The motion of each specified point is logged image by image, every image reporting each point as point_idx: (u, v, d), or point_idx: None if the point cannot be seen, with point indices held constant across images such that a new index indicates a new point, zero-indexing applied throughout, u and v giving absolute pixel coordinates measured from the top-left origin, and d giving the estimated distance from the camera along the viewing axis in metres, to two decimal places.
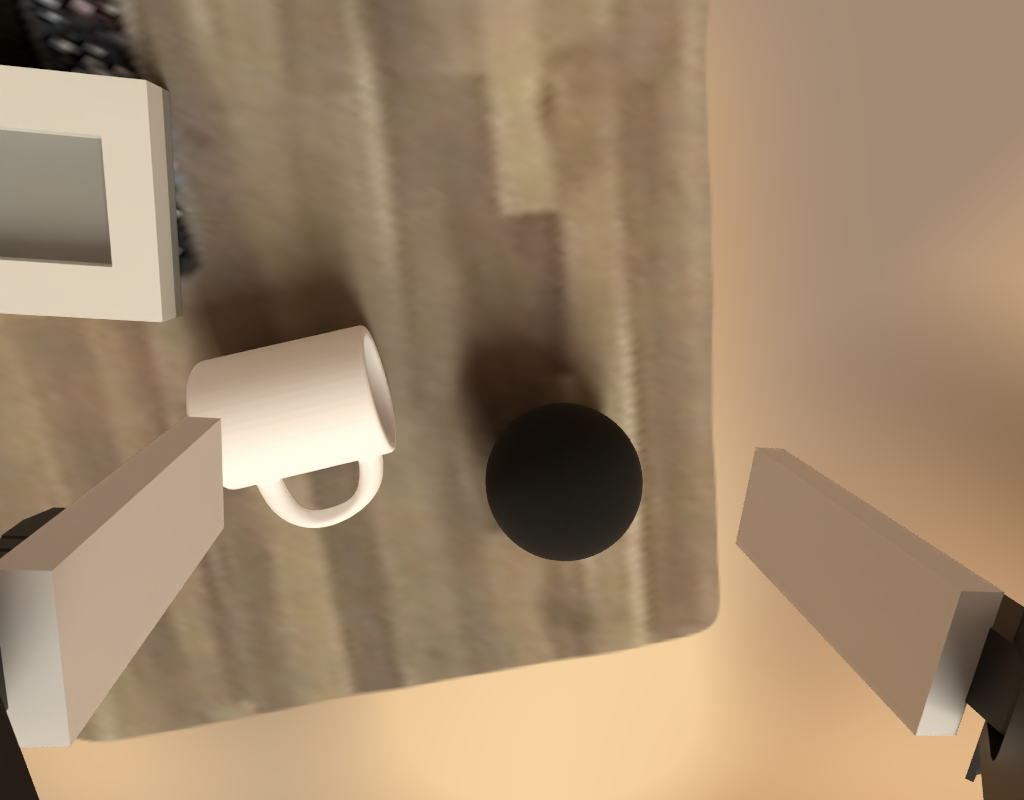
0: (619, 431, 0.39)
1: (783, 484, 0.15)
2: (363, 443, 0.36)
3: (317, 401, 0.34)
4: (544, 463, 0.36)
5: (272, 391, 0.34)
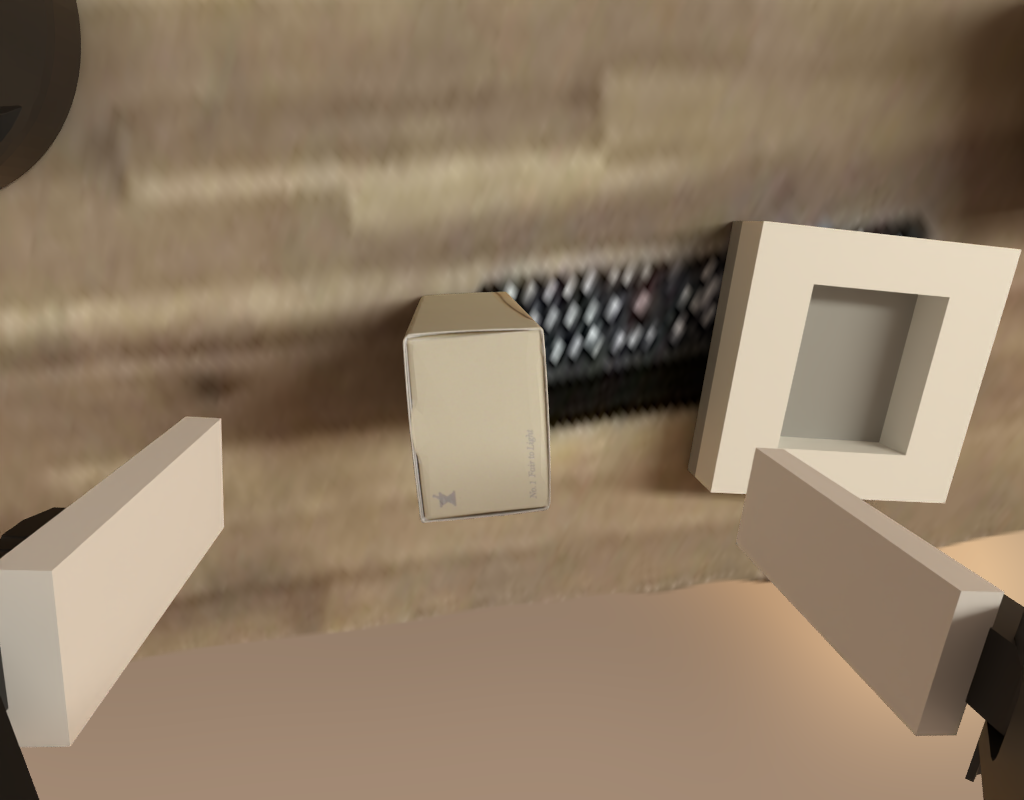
0: None
1: (784, 484, 0.15)
2: None
3: None
4: None
5: None
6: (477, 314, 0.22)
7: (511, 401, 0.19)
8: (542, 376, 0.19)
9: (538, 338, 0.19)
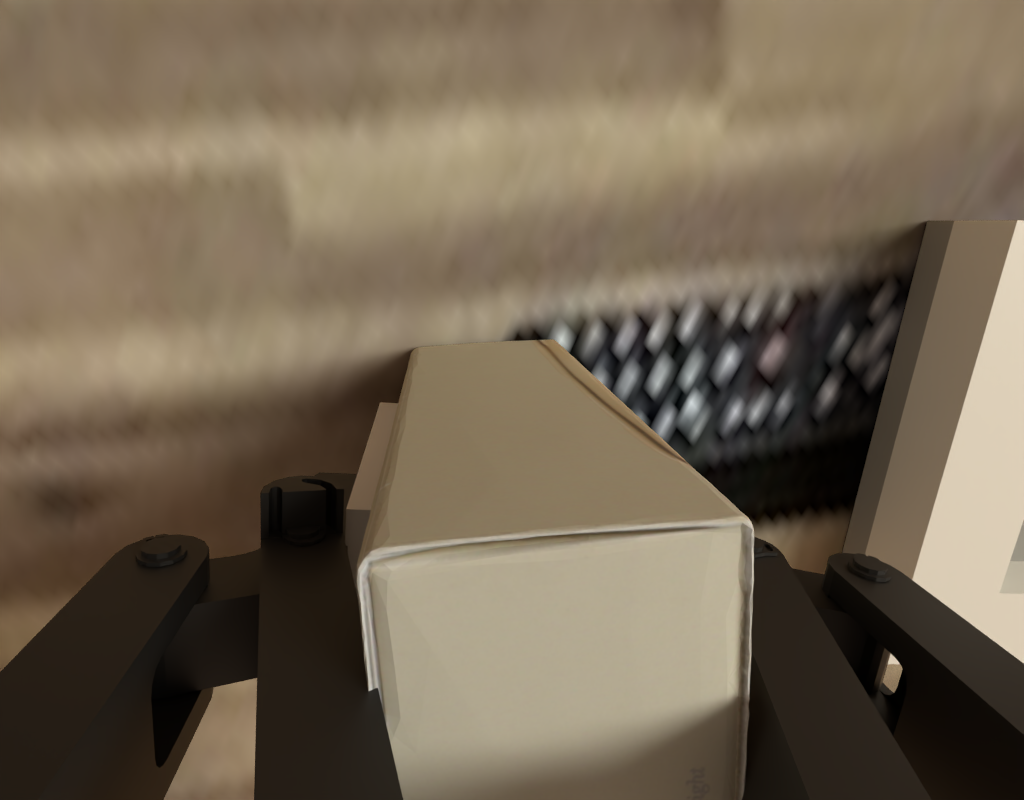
0: None
1: None
2: None
3: None
4: None
5: None
6: (537, 428, 0.10)
7: (654, 708, 0.07)
8: (737, 639, 0.07)
9: (738, 546, 0.07)
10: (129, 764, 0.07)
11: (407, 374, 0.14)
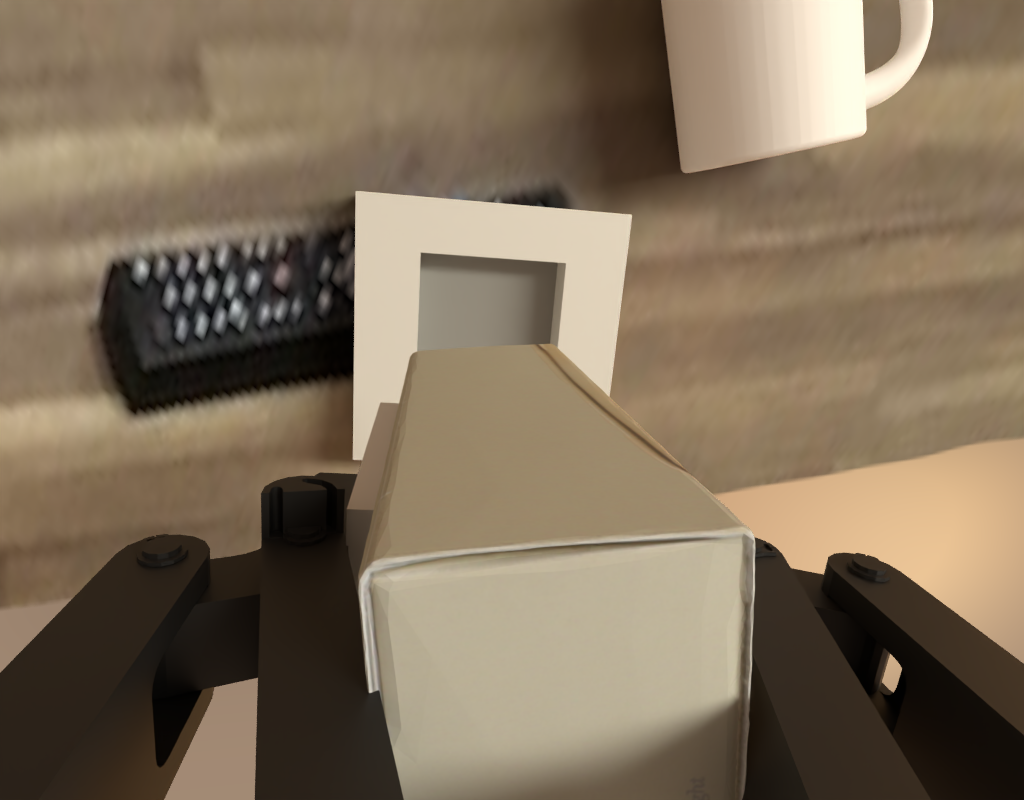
0: None
1: None
2: None
3: None
4: None
5: (757, 29, 0.25)
6: (537, 435, 0.10)
7: (655, 717, 0.07)
8: (738, 649, 0.07)
9: (740, 557, 0.07)
10: (130, 764, 0.07)
11: (406, 379, 0.14)
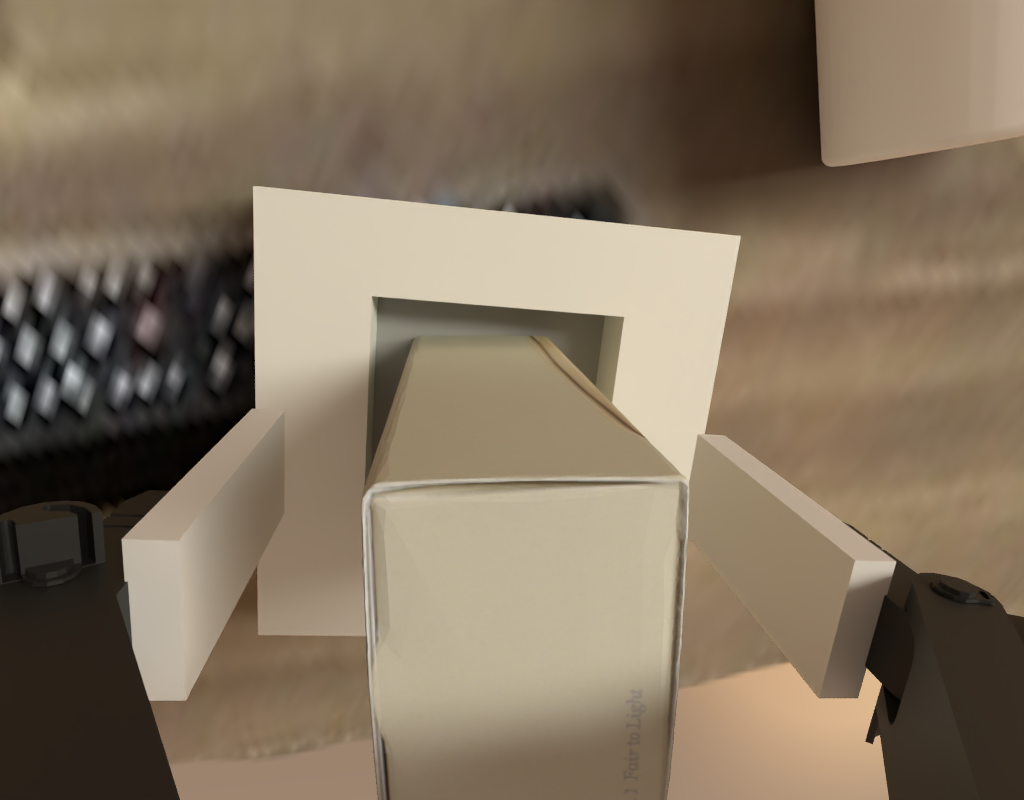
0: None
1: (720, 468, 0.15)
2: None
3: None
4: None
5: None
6: (520, 405, 0.11)
7: (601, 634, 0.09)
8: (673, 580, 0.09)
9: (676, 500, 0.08)
10: None
11: (409, 358, 0.16)
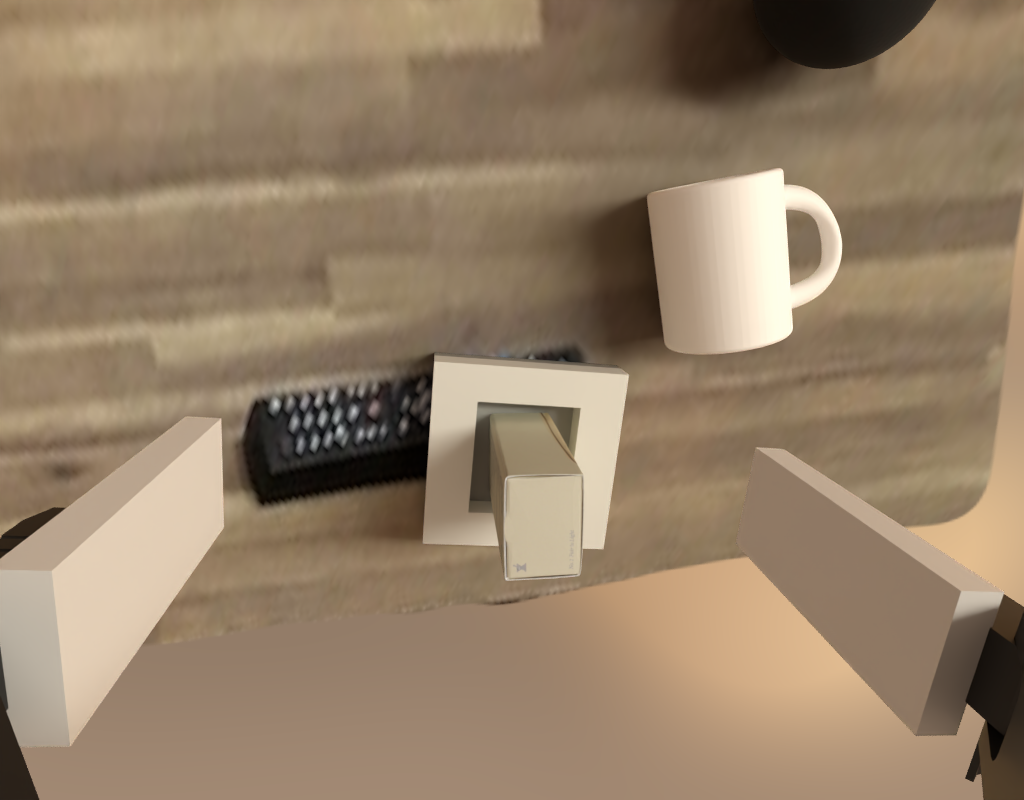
0: None
1: (784, 484, 0.15)
2: (775, 192, 0.36)
3: (729, 232, 0.36)
4: None
5: (713, 275, 0.37)
6: (540, 452, 0.36)
7: (562, 514, 0.33)
8: (581, 501, 0.33)
9: (580, 480, 0.33)
10: None
11: (494, 428, 0.41)
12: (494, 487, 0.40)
